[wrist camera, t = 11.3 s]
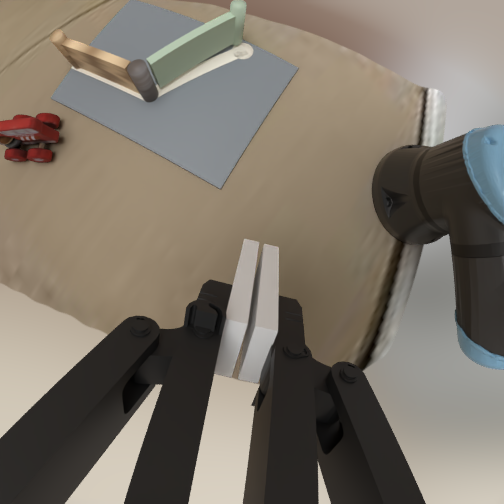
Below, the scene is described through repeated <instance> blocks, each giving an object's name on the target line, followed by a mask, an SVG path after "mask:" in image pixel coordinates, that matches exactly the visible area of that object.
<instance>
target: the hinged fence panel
mask: <svg viewBox="0 0 504 504" xmlns="http://www.w3.org/2000/svg"><path fill="white" fill-rule="evenodd" d="M245 13H246V2H245V1H243V0H234V1H232V2H231V5H230V12H228V13H225V14H223V15H221V16H219V17H217V18H215V19H213V20H211V21H209V22H208V23H206V24H204V25H202V26H200V27H198V28H196V29H194V30H193V31H191V32H189V33H187V34H186V35H184V36H182V37H180V38H179V39H177V40H175V41H174V42H172V43H170V44H169V45H167V46H165V47H164V48H162V49H161V50H159V51H157V52H156V53H154V54H153V55H151V56H150V57H148V58H147V59H146V60H147V62H148V65H149V67H150V69H151V72H152V74H153V76H154V79H155V81H156V83H157V84H158V85H159V87H160V88H161V87H163V86H164V85H166V84H167V83H169V82H170V81H172V80H173V79H175V78H176V77H178V76H179V75H181V74H183V73H184V72H186V71H187V70H189V69H191V68H192V67H194V66H195V65H197V64H199V63H200V62H202V61H204V60H205V59H207V58H209V57H210V56H212V55H214V54H216V53H217V52H219V51H221V50H223V49H224V48H226V47H228V46H230V45H240V44H241V43H242V38H243V29H244V21H245Z"/></svg>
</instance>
